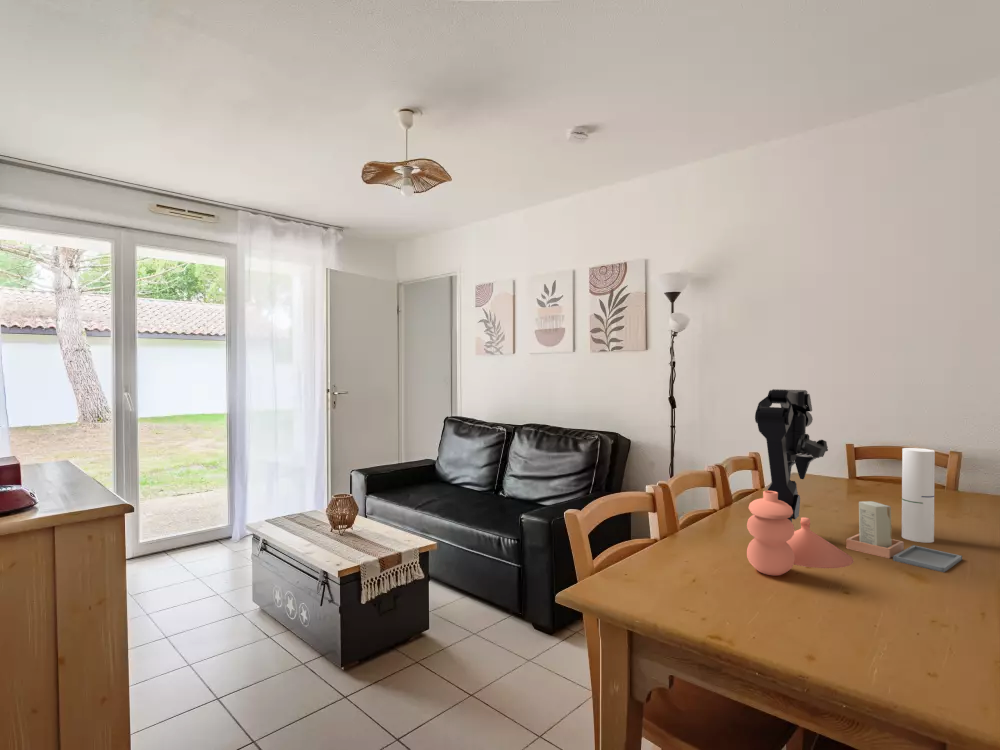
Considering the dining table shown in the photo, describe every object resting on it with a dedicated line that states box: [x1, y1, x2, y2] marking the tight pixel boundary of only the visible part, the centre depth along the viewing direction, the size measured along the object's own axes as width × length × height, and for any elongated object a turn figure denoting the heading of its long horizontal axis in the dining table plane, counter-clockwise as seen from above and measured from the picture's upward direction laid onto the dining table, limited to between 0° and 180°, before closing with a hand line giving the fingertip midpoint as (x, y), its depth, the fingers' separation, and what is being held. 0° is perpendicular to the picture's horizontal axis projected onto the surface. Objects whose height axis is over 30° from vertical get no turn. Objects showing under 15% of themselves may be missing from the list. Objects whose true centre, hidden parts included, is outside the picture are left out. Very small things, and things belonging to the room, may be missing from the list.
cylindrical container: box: [901, 447, 936, 544], centre depth 149 cm, size 7×7×25 cm
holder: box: [845, 533, 905, 559], centre depth 140 cm, size 10×10×2 cm
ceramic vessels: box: [746, 490, 854, 576], centre depth 133 cm, size 35×21×19 cm, turn 129°
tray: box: [892, 544, 963, 573], centre depth 132 cm, size 14×10×1 cm
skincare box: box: [858, 500, 892, 548], centre depth 140 cm, size 6×4×12 cm
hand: (794, 480), depth 165 cm, fingers open, 9 cm apart
